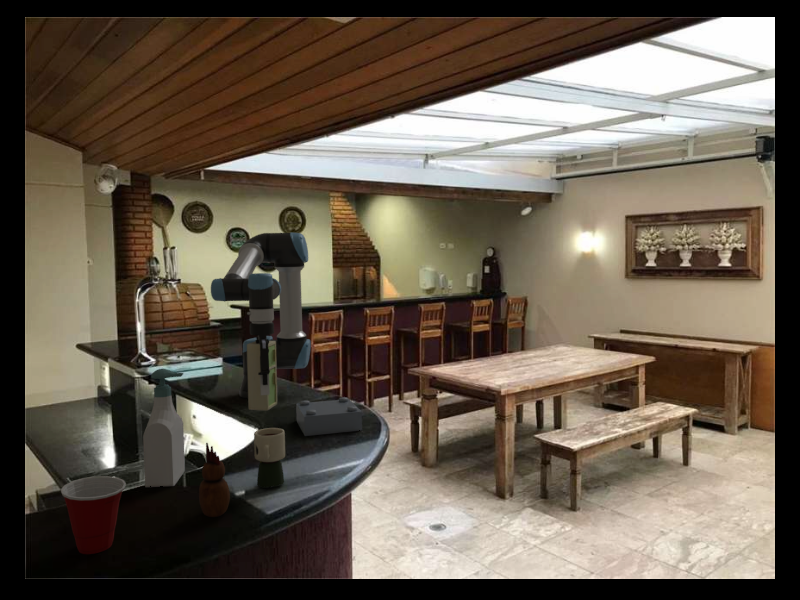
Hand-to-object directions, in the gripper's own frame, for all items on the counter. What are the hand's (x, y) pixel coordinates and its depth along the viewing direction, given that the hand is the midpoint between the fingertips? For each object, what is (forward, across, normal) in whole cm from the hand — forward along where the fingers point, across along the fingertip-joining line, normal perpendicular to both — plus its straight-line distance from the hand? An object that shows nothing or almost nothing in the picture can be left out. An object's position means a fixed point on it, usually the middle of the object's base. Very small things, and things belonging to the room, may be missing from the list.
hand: (263, 391), depth 189 cm
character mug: (+11, +51, -3) cm, 53 cm away
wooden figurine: (+11, +64, -16) cm, 66 cm away
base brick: (+12, +5, +20) cm, 24 cm away
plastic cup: (+11, +72, -37) cm, 81 cm away
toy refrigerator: (+5, 0, 0) cm, 5 cm away
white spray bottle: (+11, +39, -26) cm, 48 cm away
